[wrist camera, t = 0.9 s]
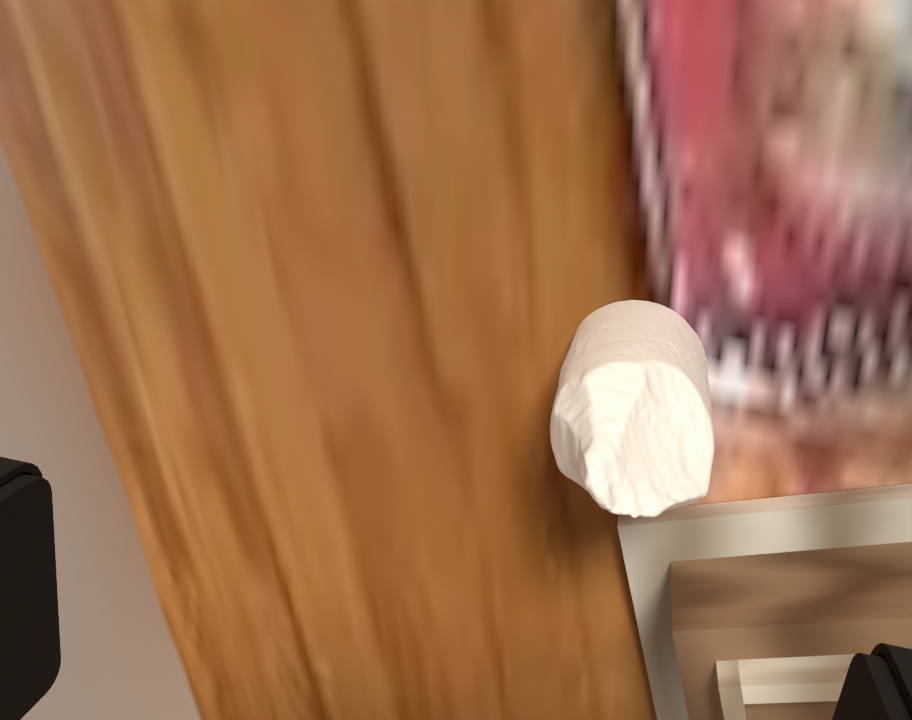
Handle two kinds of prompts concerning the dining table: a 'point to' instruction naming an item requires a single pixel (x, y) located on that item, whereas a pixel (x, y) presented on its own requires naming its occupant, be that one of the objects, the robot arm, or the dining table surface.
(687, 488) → the roll
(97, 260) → the dining table surface
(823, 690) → the tower base
